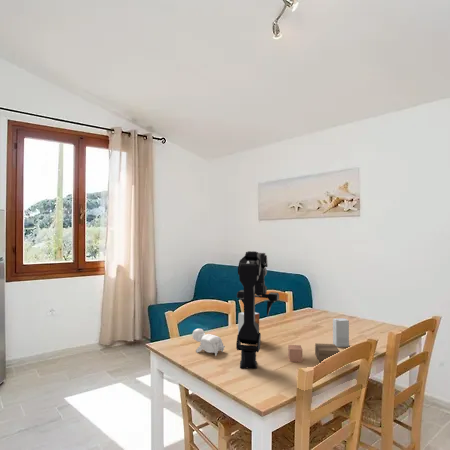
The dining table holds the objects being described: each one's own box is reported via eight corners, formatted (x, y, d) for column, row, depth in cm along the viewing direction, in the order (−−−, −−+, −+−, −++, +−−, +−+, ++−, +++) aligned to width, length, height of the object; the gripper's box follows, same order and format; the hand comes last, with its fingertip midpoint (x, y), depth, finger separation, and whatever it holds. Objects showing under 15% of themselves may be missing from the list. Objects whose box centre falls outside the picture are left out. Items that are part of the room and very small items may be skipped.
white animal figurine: (222, 357, 147) (196, 338, 155) (228, 340, 146) (202, 322, 153) (211, 363, 140) (185, 343, 147) (217, 346, 138) (190, 327, 146)
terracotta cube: (302, 362, 135) (302, 349, 135) (289, 361, 136) (289, 349, 136) (300, 357, 140) (300, 345, 140) (288, 356, 141) (288, 344, 141)
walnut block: (339, 363, 134) (339, 351, 135) (319, 362, 135) (319, 350, 135) (334, 355, 142) (334, 344, 142) (315, 355, 143) (315, 343, 143)
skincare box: (344, 343, 157) (345, 317, 157) (349, 347, 152) (349, 320, 152) (332, 344, 156) (332, 317, 156) (336, 347, 152) (336, 320, 152)
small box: (245, 344, 155) (246, 315, 155) (237, 340, 161) (237, 312, 161) (259, 340, 160) (259, 313, 160) (251, 337, 165) (251, 310, 165)
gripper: (281, 279, 159) (281, 312, 159) (243, 276, 166) (243, 308, 165) (276, 282, 149) (276, 317, 148) (236, 279, 155) (236, 313, 155)
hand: (257, 314), depth 155 cm, fingers open, 9 cm apart
